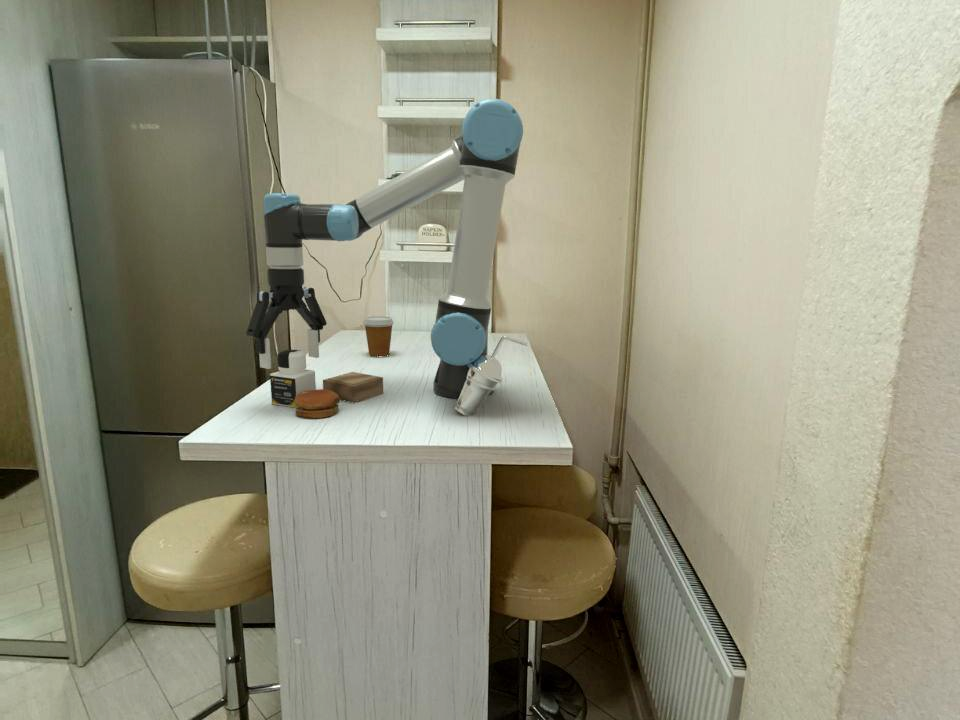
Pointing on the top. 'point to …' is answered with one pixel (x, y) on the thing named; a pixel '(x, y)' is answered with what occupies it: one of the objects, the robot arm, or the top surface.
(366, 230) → the robot arm
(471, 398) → the cup with straw
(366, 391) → the plinth
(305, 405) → the burger
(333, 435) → the top surface
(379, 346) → the disposable coffee cup
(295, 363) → the medicine bottle
